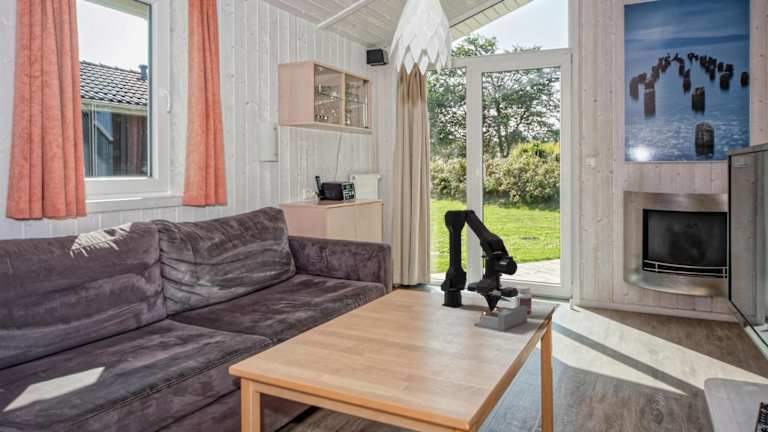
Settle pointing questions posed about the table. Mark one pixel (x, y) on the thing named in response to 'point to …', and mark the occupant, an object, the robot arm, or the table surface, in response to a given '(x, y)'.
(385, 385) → the table surface
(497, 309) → the knob far
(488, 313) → the knob near
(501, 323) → the mount
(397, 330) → the table surface
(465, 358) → the table surface
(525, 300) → the pill bottle
